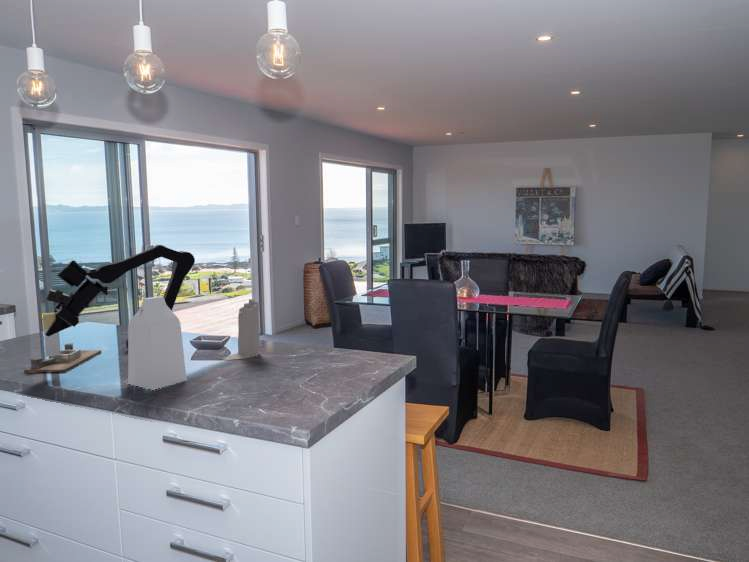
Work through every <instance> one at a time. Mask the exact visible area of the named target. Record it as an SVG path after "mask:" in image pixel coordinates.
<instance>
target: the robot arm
mask: <svg viewBox="0 0 749 562" xmlns="http://www.w3.org/2000/svg"><path fill="white" fill-rule="evenodd" d="M159 258H164V259H166V260H169V261H172V265H171V275H170V278H169V280H168V283H167V287H166V288H165V291H164V293H163V297H164V300H165V302H166V305H167V306H168V307H169V308H170V309H171V311H172V312H173V308H174V306H175V303H176V301H177V299H178V295H179V293H180V290H181V286H182V285H183V282H184V280H185V279H186V278H185V277H187V276H188V274H189V273H190V271H191V270H192V268H193V266H194V264H195V263H196V262H195V260H196V259H195V256H194V255H193V253H191V252H189V251H185V250H179V251H177V250H175V249H172V248H169V247H166V246H164V245H163V244H156V245H154V246H153V247H151V248H148V249H146V250H143V251H141V252H139V253H136V254H134V255H132V256H130V257H127V258H125V259H121V260H119V261H118V260H117V261H113V262H108V263H105V264H100V265H98V266H97V267H96V268H93V269H89V270H85V269H84V268H83V267H82V266H81V265H79V263H77V262H76V260H74V259H73V260H71V261H70V262H69V263H67V265H65V266H63V267H62V268H61V269H60V270H59V272H57V274H56V276H57V278H59V279H60V280H61V281H63V282H64V283H66V284H67V285H69V286H70V287H71V288H72V287H74V286H75V287H76V288H77V287H78V288H77V289H76V290H75V291H74V292H71V293H69V294H67V293H64V292H63V291H62V290H59V289H56V290H54V289H52V288H50V289H49V290H48V293H47V295H46V297H45V300H46V301H49V302H54V303H56V304H55V305H54V310H53V312H57V313H55V318H56V319H55V321H54V323H53V324H52V325H51V327H50V328H49V330H48V331H47V333H46V336H48V337H49V336H51V335H53V334H55V333H57V332H59V333H60V332H61V331H64V330H66V329H68V328H71V327H74V328H75V327H76V326H77V325H78V324H79V323H80V319H79V317H80V314H81V313H83V312H84V310H85V309H88V308H89V307H90V304H91V303H92V302H93V301H94V300H95V299H96V298H97V297H98V296H99V295H100V294H101V293H103V294H104V295H105V296H108V288H109V286H107V285H102V284H101V283H103V284H111V283H113V282H114V281H116V280H117V279H120V278H121V277H122V276H123V275H124V274H126V273H127V272H128V271H129V272H130V271H131V270H134V269H136V268H139V267H141V266H143V265H145V264H149V263H150V262H152V261H155V260H157V259H159ZM86 276H88V277H89V278H90V279H93V280H94V281H92V280H90V279H89V278H88V277H86ZM97 280H98V281H97ZM100 282H101V283H100Z"/></svg>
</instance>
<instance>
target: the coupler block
mask: <svg viewBox="0 0 749 562" xmlns="http://www.w3.org/2000/svg"><path fill="white" fill-rule="evenodd" d="M55 313H57V312H54V311H53V312H43V313H41V314H42V324H43V325H42V327H43V335H44V336H43V337H44V338H43V339H44V349H45V357H49V356H56V355H61V352H60V350H61V342H60V331H59V332H57V333H55V334H53V335H51V336H49V337H48V336H46V333H47V331H48V330H49V328H50V327H51V325H52V324H53V323H54V321H55V319H56V318H55Z"/></svg>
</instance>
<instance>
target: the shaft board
mask: <svg viewBox="0 0 749 562" xmlns="http://www.w3.org/2000/svg"><path fill="white" fill-rule="evenodd" d="M60 352H61V355H56V356H48V358H46V359H44V358H43V357H34V358H30V367H28V368H25V369H24V372H23V373H24V374H42V373H41V372H66V371H67V372H69V371H71V370H72V368H73V369H74V367H75V368H76V366H77V367H78V366H80V365H82V364H84V363H85V361H86V362H87V361H90V360H91V359H93V358H94V356H95V357H97V356H98V355H100V354H102V350H101V349H98V350H97V349H95V350H93V349H92V350H91V349H90V350H89V349H88V350H85V349H84V350H81V349H74V343H72V342H70V343H64V349H60ZM99 353H100V354H99ZM96 355H97V356H96ZM92 357H93V358H92ZM90 358H91V359H90ZM83 362H84V363H83ZM81 363H82V364H81ZM79 364H80V365H79ZM70 369H71V370H70ZM68 370H69V371H68ZM38 372H39V373H38ZM67 372H66V373H67Z"/></svg>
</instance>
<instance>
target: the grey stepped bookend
mask: <svg viewBox="0 0 749 562" xmlns="http://www.w3.org/2000/svg"><path fill="white" fill-rule="evenodd" d="M259 305H260V304H259V302H258V300H256V299H251V298H250V299H248V303H246V302H245V303H244V305H243V306H242V307H240V308H239V309H238V317H237V318H238V319H237V321H238V322H237V325H238V330H237V331H238V332H237V333H238V336H237V338H238V339H237V340H238V341H237V349H238V351H237V353H234V354H230V355H227V356H226V357H225V356H224V357H223V358H221V360H225V361H232V360H242V359H243V360H245V359H249V358H254V357H255V356H256V357H258V355H259V356H260V355H261V350H260V349H261V348H260V313H259V312H260V309H259Z"/></svg>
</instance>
